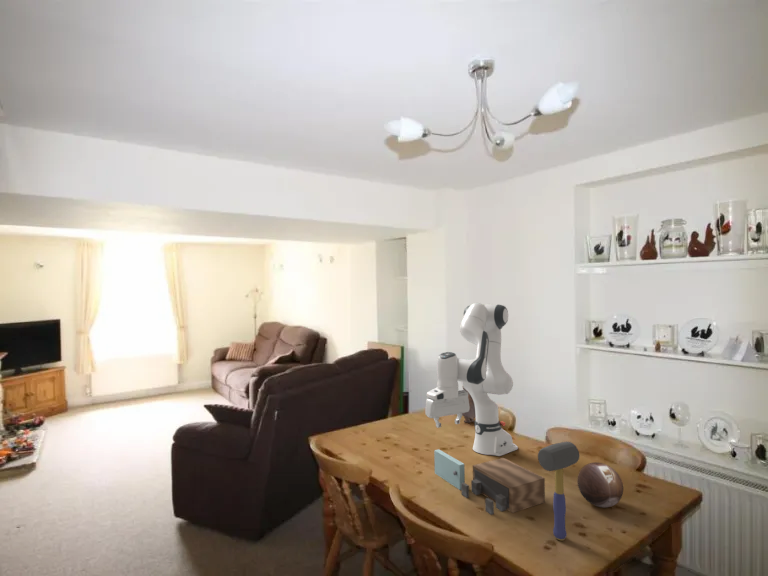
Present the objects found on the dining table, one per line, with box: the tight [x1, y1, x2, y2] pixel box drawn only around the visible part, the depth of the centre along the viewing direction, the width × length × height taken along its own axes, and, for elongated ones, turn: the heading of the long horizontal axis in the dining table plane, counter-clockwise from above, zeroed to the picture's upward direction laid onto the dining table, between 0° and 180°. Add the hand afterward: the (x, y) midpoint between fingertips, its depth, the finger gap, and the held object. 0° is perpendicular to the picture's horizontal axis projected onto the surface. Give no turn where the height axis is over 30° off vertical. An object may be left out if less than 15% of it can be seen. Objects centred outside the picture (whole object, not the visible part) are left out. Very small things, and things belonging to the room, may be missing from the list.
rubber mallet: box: [537, 441, 580, 541], centre depth 138 cm, size 12×8×30 cm, turn 120°
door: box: [433, 448, 466, 491], centre depth 180 cm, size 3×18×10 cm, turn 27°
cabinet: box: [461, 457, 546, 516], centre depth 166 cm, size 24×22×9 cm
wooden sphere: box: [576, 461, 624, 508], centre depth 159 cm, size 15×15×15 cm
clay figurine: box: [461, 385, 476, 424], centre depth 259 cm, size 13×10×25 cm
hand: (448, 425), depth 181 cm, fingers open, 8 cm apart
